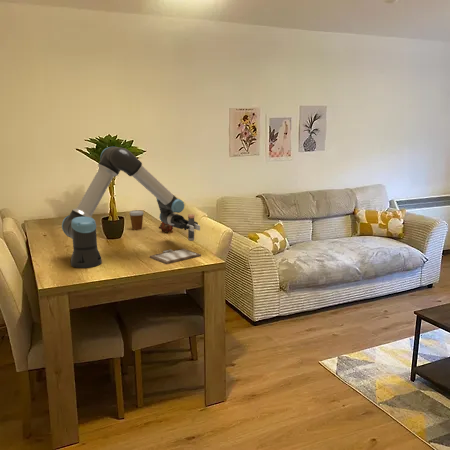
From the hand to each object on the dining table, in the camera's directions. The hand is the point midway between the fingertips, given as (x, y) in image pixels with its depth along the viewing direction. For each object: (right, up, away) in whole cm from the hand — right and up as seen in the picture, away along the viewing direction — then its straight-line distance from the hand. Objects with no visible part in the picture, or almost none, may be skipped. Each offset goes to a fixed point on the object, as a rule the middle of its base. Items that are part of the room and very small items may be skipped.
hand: (196, 228), depth 251 cm
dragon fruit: (-23, -3, +57) cm, 62 cm away
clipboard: (-11, -15, 0) cm, 19 cm away
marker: (-3, -6, +6) cm, 10 cm away
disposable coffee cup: (-44, -1, +66) cm, 79 cm away
